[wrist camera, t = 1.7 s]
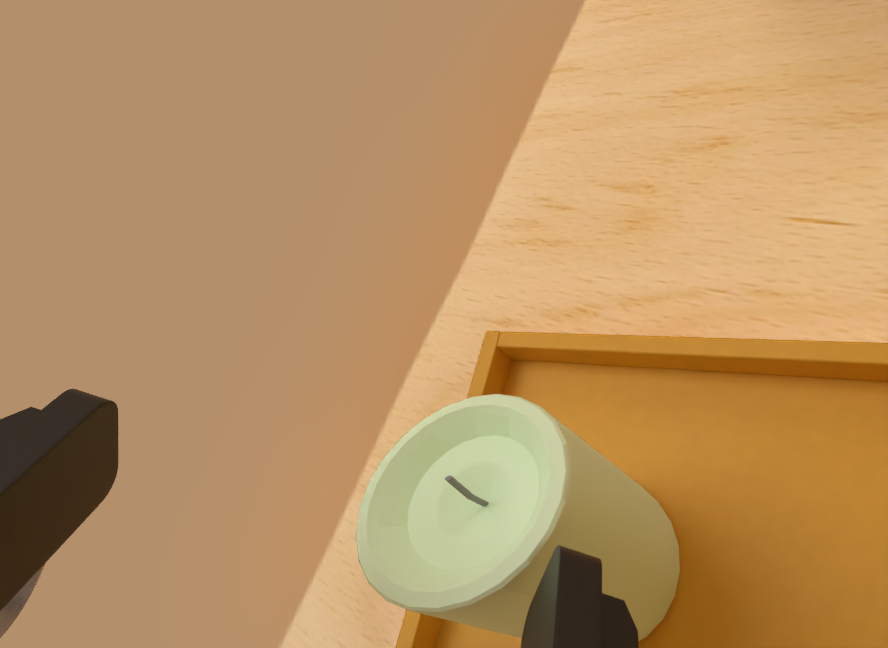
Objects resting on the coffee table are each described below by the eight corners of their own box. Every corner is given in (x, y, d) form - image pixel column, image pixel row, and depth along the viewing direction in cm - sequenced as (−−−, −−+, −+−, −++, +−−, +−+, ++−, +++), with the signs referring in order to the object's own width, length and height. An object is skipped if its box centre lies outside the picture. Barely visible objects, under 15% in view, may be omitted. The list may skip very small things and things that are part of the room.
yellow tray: (403, 744, 22) (366, 743, 20) (510, 351, 26) (485, 330, 25) (1709, 1405, 9) (1838, 1519, 7) (1480, 399, 13) (1536, 360, 12)
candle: (531, 469, 23) (374, 369, 17) (688, 479, 20) (566, 364, 14) (503, 635, 21) (315, 589, 15) (673, 674, 18) (524, 636, 12)
